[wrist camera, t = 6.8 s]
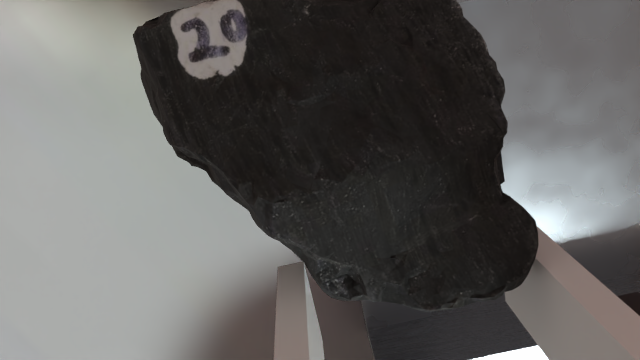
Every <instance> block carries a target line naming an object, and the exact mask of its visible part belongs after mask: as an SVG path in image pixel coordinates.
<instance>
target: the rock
mask: <svg viewBox="0 0 640 360" xmlns="http://www.w3.org/2000/svg"><path fill="white" fill-rule="evenodd" d="M133 38H134V41H135V45H136V49H137V53H138V58H139V61H140V64H141V80H142V83H143V86H144V89H145V92H146V94H147V97H148V100H149V103H150V105H151V108H152V110H153V113H154V115H155V116H156V118H157V119H158V121H159V122H160V124H161V125H162V126H163V132H164V135H165V137H166V139H167V141H168V142H169V144H170V145H172V147H173V149H174V151H175V153H176V154H177V156H178V157H180V158H182V159H183V160H185V161H187V162H189V163H190V164H191V166H196V167H199V168H201V169H203V170H205V171H206V172H207V173H208V175H209V177H210V178H211V180H212V181H213V182H214V183H215V184H216V185H218V186H219V187H220V188H221V189H222V190H223V191H224V192H225V193H226V194H227V195H228V196H229V197H231V198H232V199H233V200H235V201H236V202H237V203H239V204H240V205H242V206H243V207H245V208H246V209H247V210H248V211H249V212H250V214H251V216H252V218H253V220H254V221H255V223H256V224H257V226H258V227H259V228H260V229H262V230H263V231H264V232H265V233H266V234H267V235H268V236H270V237H271V238H273V239H276V240H278V241H280V242H281V243H282V244H284V245H285V246H286V247H288V248H289V249H290V250H292V251H293V252H294V253H295V254H296V255H297V256H298V257H299V258H300V259H301V260H302V261H303V262H304V263H305V265H306V267H307V268H308V270H309V272H310V274H311V276H312V277H313V278H314V280H315V281H316V282H317V284H318V285H319V286H320V287H321V289H322V290H323V291H324V292H325V293H326V294H327V295H329V296H330V297H331V298H335V299H339V300H342V301H359V300H371V301H373V302H380V301H382V302H390V303H396V304H400V305H404V306H407V307H410V308H412V309H415V310H422V311H429V312H431V311H441V310H449V309H455V308H459V307H462V306H465V305H468V304H471V303H474V302H481V301H490V300H496V299H497V298H499V297H501V296H503V294H504V292H507V291H511V290H514V289H515V288H517V287H519V286H520V285H521V284H522V283H523V282H524V280H525V279H526V277H527V276H528V274H529V272H530V270H531V267H532V265H533V263H534V261H535V258H536V254H537V250H538V246H539V243H538V230H537V226H536V221H535V219H534V218H533V217H532V216H531V215H530V214H529V213H528V212H527V210H526V209H525V208H524V207H522V206H521V205H520V204H519V203H517V202H516V201H515V200H514V199H512V198H511V197H510V196H509V195H507V194H505V193H503V191H502V189H501V184H502V183H503V182H505V179H504V172H503V165H502V155H501V150H502V147H503V138H504V137H505V135H506V134H507V128H508V122H507V120H506V117H505V115H504V113H503V111H502V108H501V104H502V101H503V98H504V95H505V84H504V79H503V78H502V76H501V75H500V73H499V72H498V70H497V65H496V62H495V61H494V60H493V58H492V57H491V56H490V55H489V52H488V49H487V45H486V42H485V41H484V39H483V37H482V35H481V34H480V33H479V32H478V31H477V29H476V28H475V27H474V26H473V25H472V24H471V23H470V22H469V21H468V20H467V19H466V18H465V17H464V16H463V11H462V8H461V6H460V4H459V3H458V2H457V1H456V0H213V1H206V2H203V3H200V4H198V5H195V6H192V7H188V8H183V9H178V10H174V11H171V12H167V13H164V14H163V15H161V16H160V17H157V18H155V19H152V20H149V21H147V22H146V23H145V24H144V25H143V26H139V27H137V29H136V31H135V32H134V34H133Z"/></svg>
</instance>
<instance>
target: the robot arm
mask: <svg viewBox="0 0 640 360" xmlns="http://www.w3.org/2000/svg"><path fill="white" fill-rule="evenodd" d="M537 230H538V243H539V246H538V250H537V254H536V258H535V261H534V263H533V265H532V267H531V270H530V272H529V274H528V276H527V277H526V279H525V280H524V282H523V283H522V284H521V285H520V286H519V287H517V288H515V289H514V290H511V291H507V292H505V301H506V303H507V304H508V305H509V307H510V308H511V309H512V311H513V312H514V313H515V315H516V316H517V318H518V319H519V320H520V322H521V323H522V324H523V326H524V327H525V328H526V330H527V331H528V332H529V334H530V335H531V336H532V338H533V339H534V341H535V342H536V343H537V345H538V346H539V347H540V349H541V350H542V351H543V353H544V354H545V355H546V357H547V358H548V359H549V360H640V293H639V292H634V293H629V294H624V295H619V296H616V295H615V294H614V293H613V292H612V291H610V290H609V289H608V288H607V287H606V286H605V285H604V284H602V283H601V282H600V281H599V280H598V279H597V278H596V277H594V276H593V275H592V274H591V273H590V272H589V271H588V270H586V269H585V268H584V267H583V266H582V265H581V264H580V263H578V262H577V261H576V260H575V259H574V258H573V257H572V256H570V255H569V254H568V253H567V252H566V251H565V250H564V249H562V248H561V247H560V246H559V245H558V244H557V243H556V242H554V241H553V240H552V239H551V238H550V237H549V236H548V235H546V234H545V233H544V232H543V231H542V230H541V229H540V228H539V227H537ZM274 360H324V350H323V340H322V335H321V331H320V327H319V323H318V319H317V315H316V310H315V306H314V302H313V298H312V294H311V290H310V286H309V281H308V277H307V273H306V269H305V265H304V262H299V263H294V264H289V265H284V266H280V267H278V274H277V296H276V319H275V341H274Z"/></svg>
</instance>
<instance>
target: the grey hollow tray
mask: <svg viewBox="0 0 640 360" xmlns="http://www.w3.org/2000/svg"><path fill="white" fill-rule="evenodd" d="M456 1H457V2H458V3H459V4H460V6H461V8H462V11H463V16H464V17H465V18H466V19H467V20H468V21H469V22H470V23H471V24H472V25H473V26H474V27H475V28H476V29H477V31H478V32H479V33H480V34H481V35H482V37H483V39H484V41H485V42H486V45H487V49H488V52H489V55H490V56H491V57H492V58H493V60H494V61H495V62H496V65H497V70H498V72H499V73H500V75H501V76H502V78H503V79H504V84H505V95H504V98H503V101H502V104H501V108H502V111H503V113H504V115H505V117H506V120H507V122H508V128H507V134H506V135H505V137H504V138H503V147H502V150H501V155H502V165H503V172H504V179H505V182H503V183H502V184H501V189H502V191H503V193H505V194H507V195H509V196H510V197H511V198H512V199H514V200H515V201H516V202H517V203H519V204H520V205H521V206H522V207H524V208H525V209H526V210H527V212H528V213H529V214H530V215H531V216H532V217H533V218H534V219H535V221H536V226H537V227H539V228H540V229H541V230H542V231H543V232H544V233H545V234H546V235H548V236H549V237H550V238H551V239H552V240H553V241H554V242H556V243H557V244H558V245H559V246H560V247H561V248H562V249H564V250H565V251H566V252H567V253H568V254H569V255H570V256H572V257H573V258H574V259H575V260H576V261H577V262H578V263H580V264H581V265H582V266H583V267H584V268H585V269H586V270H588V271H589V272H590V273H591V274H592V275H593V276H594V277H596V278H597V279H598V280H599V281H600V282H601V283H602V284H604V285H605V286H606V287H607V288H608V289H609V290H610V291H612V292H613V293H614V294H615V295H616V296H619V295H624V294H629V293H634V292H639V293H640V0H456ZM361 305H362V310H363V315H364V320H365V325H366V330H367V334H368V338H369V342H370V346H371V350H372V354H373V358H374V360H549V359H548V358H547V357H546V355H545V354H544V353H543V351H542V350H541V349H540V347H539V346H538V345H537V343H536V342H535V341H534V339H533V338H532V336H531V335H530V334H529V332H528V331H527V330H526V328H525V327H524V326H523V324H522V323H521V322H520V320H519V319H518V318H517V316H516V315H515V313H514V312H513V311H512V309H511V308H510V307H509V305H508V304H507V303H506V301H505V292H504V294H503V296H501V297H499V298H497V299H496V300H490V301H481V302H474V303H471V304H468V305H465V306H462V307H459V308H455V309H449V310H441V311H431V312H429V311H422V310H415V309H412V308H410V307H407V306H404V305H400V304H396V303H390V302H382V301H380V302H373V301H371V300H361Z"/></svg>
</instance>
